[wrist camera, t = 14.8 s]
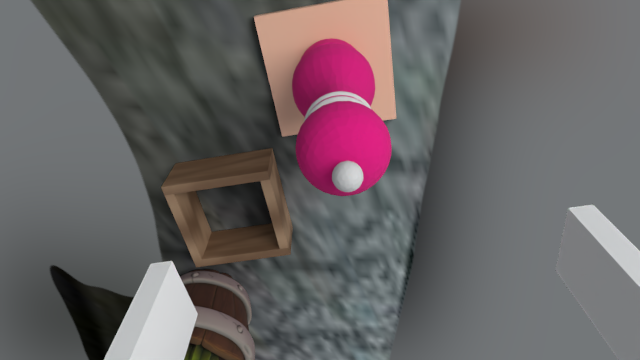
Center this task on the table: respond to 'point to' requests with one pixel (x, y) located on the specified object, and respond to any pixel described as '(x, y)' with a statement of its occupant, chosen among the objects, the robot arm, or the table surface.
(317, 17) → the plate
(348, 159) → the pepper mill
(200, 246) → the wooden box
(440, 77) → the table surface
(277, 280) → the table surface
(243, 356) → the flowerpot
